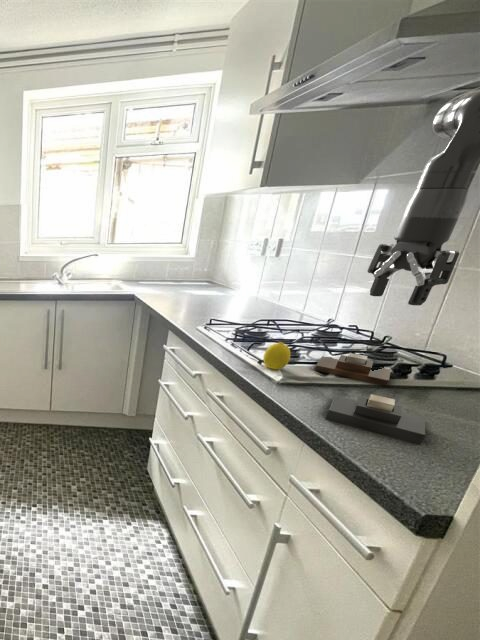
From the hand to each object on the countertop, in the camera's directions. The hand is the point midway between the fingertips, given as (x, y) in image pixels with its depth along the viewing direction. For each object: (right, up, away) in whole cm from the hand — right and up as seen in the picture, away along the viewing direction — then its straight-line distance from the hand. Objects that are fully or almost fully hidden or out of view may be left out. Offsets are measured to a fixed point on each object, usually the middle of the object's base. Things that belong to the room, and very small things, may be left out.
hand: (394, 300), depth 85 cm
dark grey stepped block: (-5, -25, 0) cm, 26 cm away
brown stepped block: (+12, -15, +23) cm, 30 cm away
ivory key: (-5, -22, -2) cm, 22 cm away
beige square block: (+12, -12, +22) cm, 27 cm away
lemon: (-6, -14, +26) cm, 30 cm away
